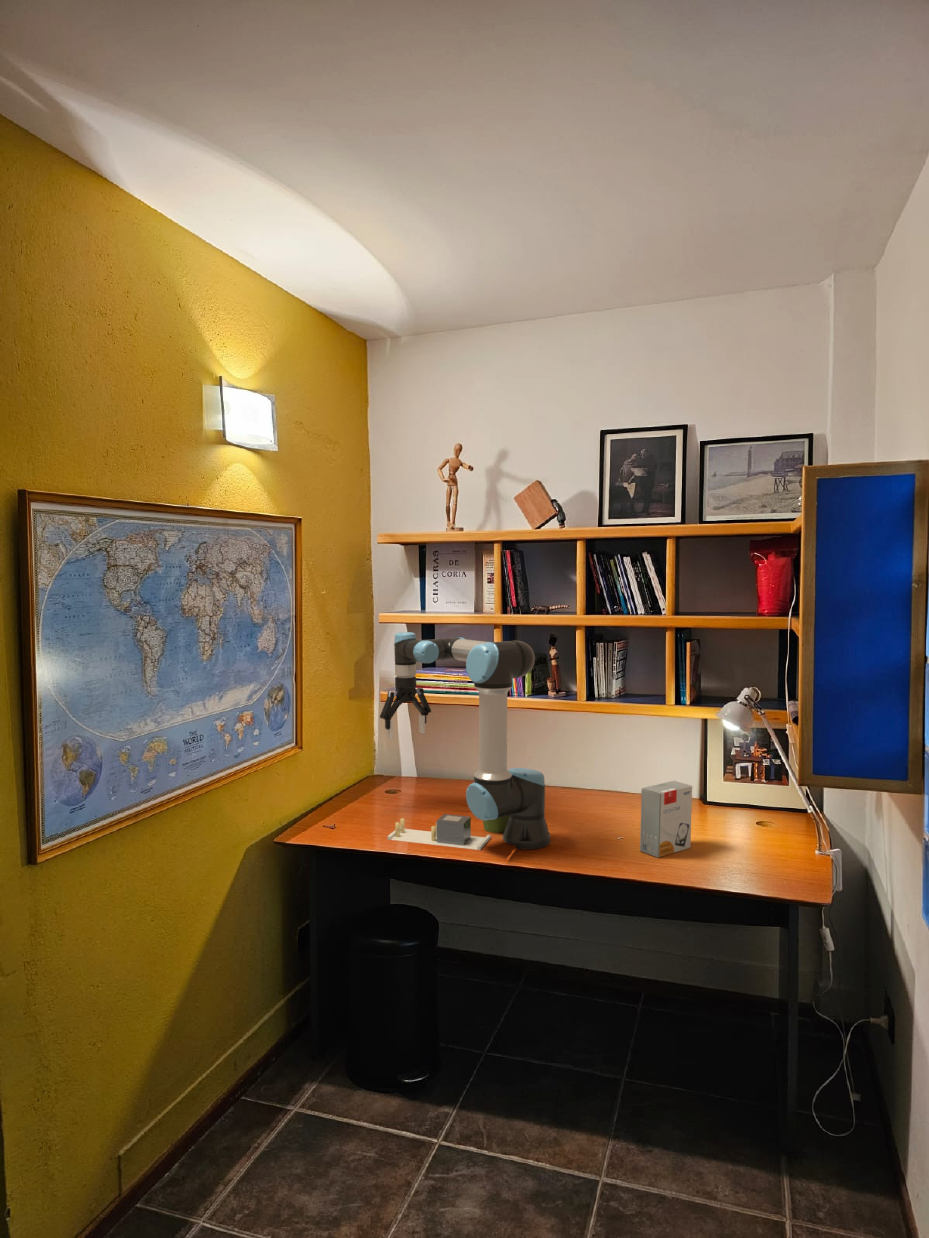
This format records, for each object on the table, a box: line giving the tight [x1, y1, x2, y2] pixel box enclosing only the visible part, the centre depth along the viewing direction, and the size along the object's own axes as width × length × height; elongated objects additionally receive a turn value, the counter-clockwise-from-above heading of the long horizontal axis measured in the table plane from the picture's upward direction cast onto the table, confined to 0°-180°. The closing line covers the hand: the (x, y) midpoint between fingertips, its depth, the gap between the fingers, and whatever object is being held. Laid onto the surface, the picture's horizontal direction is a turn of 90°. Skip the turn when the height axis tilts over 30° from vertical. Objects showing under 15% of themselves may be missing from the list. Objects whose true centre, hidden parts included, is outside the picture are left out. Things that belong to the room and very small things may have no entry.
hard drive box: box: [639, 780, 693, 858], centre depth 246 cm, size 16×8×20 cm, turn 126°
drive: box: [436, 813, 472, 846], centre depth 253 cm, size 9×7×7 cm
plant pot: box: [482, 815, 508, 834], centre depth 263 cm, size 12×12×11 cm
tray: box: [387, 817, 491, 851], centre depth 255 cm, size 31×11×6 cm, turn 71°
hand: (406, 735), depth 283 cm, fingers open, 13 cm apart
